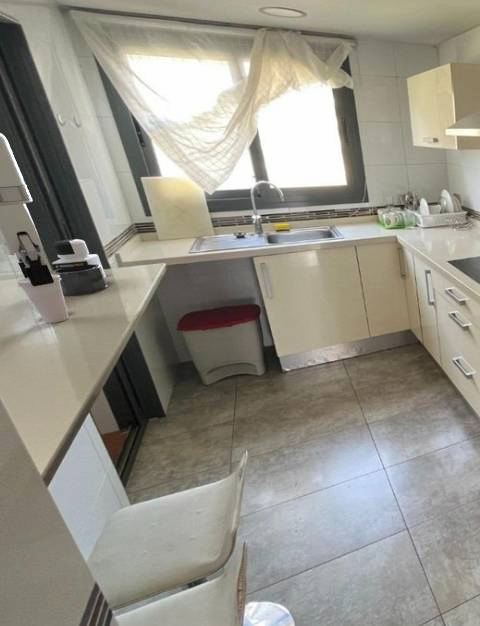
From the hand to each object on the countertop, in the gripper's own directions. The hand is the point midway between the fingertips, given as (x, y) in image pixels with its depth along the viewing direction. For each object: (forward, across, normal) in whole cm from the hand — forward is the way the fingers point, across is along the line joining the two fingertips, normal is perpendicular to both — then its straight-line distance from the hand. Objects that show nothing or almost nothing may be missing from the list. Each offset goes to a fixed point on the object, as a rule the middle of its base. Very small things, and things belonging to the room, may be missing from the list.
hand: (39, 280), depth 98 cm
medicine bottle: (+9, -32, +11) cm, 35 cm away
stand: (+9, -23, +9) cm, 27 cm away
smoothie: (+9, 0, 0) cm, 9 cm away
